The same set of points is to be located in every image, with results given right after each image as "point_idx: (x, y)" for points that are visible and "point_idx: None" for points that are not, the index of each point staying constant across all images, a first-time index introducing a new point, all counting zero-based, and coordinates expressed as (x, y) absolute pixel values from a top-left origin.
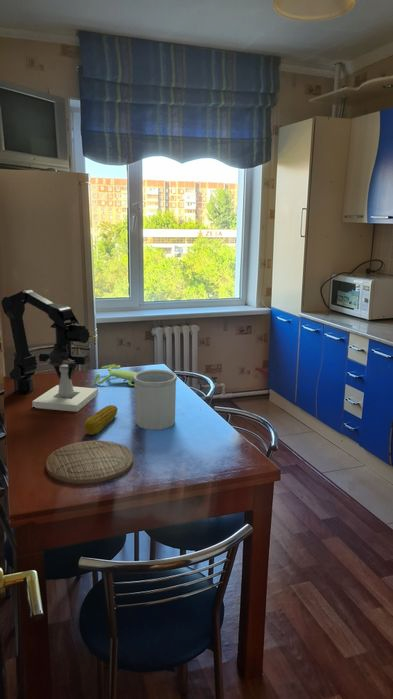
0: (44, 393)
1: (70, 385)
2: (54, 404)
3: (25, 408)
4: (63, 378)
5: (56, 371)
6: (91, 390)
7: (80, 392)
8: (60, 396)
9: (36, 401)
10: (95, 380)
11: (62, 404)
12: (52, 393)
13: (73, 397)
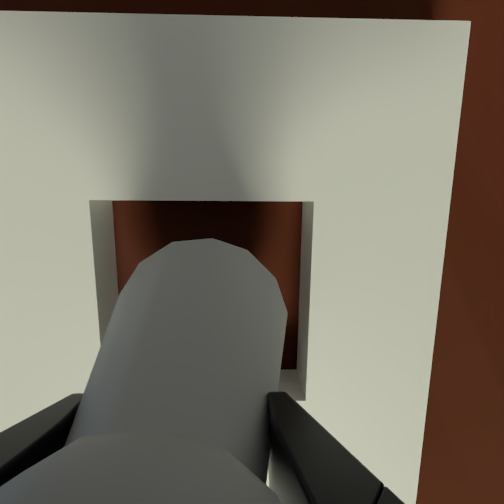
0: (437, 287)
1: (105, 338)
2: (199, 19)
3: (491, 6)
4: (166, 349)
5: (373, 478)
6: None
7: None
8: (298, 350)
9: (422, 25)
10: None
11: (99, 13)
12: (357, 305)
13: (91, 248)
